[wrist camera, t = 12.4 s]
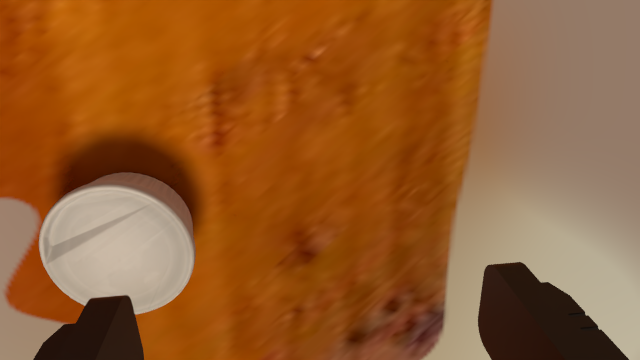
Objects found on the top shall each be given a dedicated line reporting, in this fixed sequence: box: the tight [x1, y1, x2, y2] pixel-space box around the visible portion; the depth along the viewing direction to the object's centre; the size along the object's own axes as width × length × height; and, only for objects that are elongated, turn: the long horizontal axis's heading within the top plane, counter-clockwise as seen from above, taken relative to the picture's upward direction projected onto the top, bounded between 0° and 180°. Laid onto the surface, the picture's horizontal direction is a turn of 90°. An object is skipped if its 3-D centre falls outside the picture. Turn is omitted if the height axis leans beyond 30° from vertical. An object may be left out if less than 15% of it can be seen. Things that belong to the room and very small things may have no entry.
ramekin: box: [39, 172, 195, 314], centre depth 38 cm, size 11×11×5 cm
